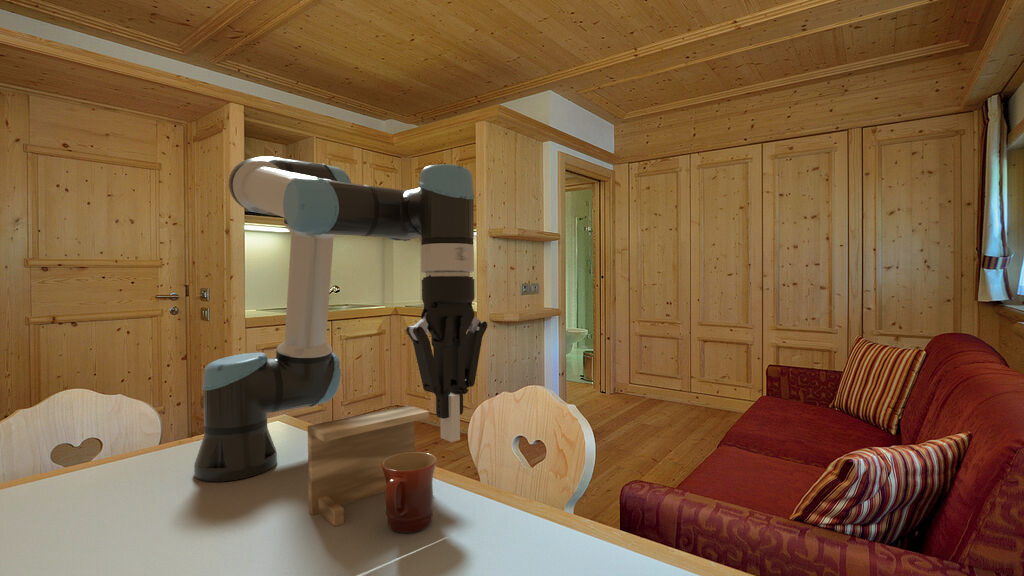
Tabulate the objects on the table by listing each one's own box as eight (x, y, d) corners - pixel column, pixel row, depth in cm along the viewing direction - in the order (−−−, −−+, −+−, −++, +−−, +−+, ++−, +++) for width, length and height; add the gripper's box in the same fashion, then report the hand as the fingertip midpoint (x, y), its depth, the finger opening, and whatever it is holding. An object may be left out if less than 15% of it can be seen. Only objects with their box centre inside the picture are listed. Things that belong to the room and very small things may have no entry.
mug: (396, 510, 87) (395, 450, 87) (445, 514, 85) (444, 453, 85) (361, 546, 75) (360, 477, 75) (417, 552, 74) (416, 481, 73)
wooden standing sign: (308, 512, 87) (307, 425, 86) (410, 480, 100) (410, 405, 100) (328, 528, 81) (327, 436, 81) (434, 492, 94) (433, 412, 94)
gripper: (424, 274, 66) (426, 455, 66) (499, 274, 75) (501, 434, 75) (394, 275, 72) (396, 443, 72) (467, 275, 81) (469, 424, 81)
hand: (450, 438), depth 74 cm, fingers closed
